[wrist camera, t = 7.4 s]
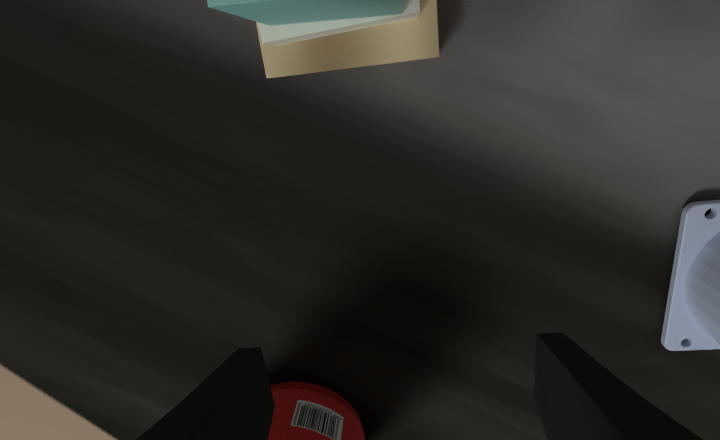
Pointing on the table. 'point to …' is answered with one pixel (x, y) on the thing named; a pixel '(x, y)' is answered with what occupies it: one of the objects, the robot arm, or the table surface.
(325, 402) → the canned food
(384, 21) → the cream slab
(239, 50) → the table surface
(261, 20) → the teal block
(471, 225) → the table surface
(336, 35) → the oak slab
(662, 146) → the table surface
